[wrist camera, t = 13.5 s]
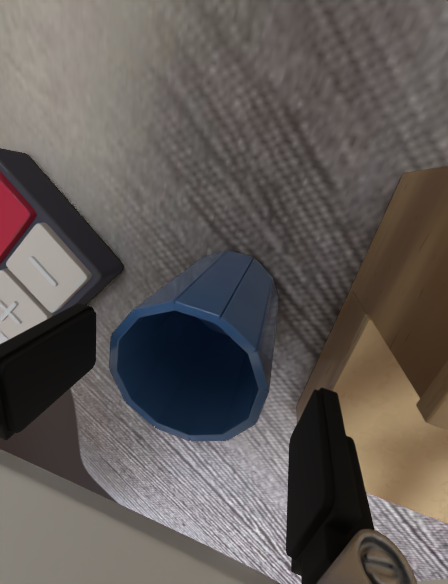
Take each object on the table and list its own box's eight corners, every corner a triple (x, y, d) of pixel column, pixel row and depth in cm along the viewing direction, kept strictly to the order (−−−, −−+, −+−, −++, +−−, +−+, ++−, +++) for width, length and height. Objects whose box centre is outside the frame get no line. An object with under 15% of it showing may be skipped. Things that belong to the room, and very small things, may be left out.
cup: (290, 265, 18) (290, 337, 9) (262, 346, 20) (241, 462, 12) (196, 238, 18) (112, 281, 10) (181, 320, 21) (106, 409, 13)
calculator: (95, 280, 17) (-6, 379, 22) (130, 265, 21) (37, 352, 26) (-32, 138, 16) (-108, 280, 21) (31, 151, 20) (-47, 268, 25)
